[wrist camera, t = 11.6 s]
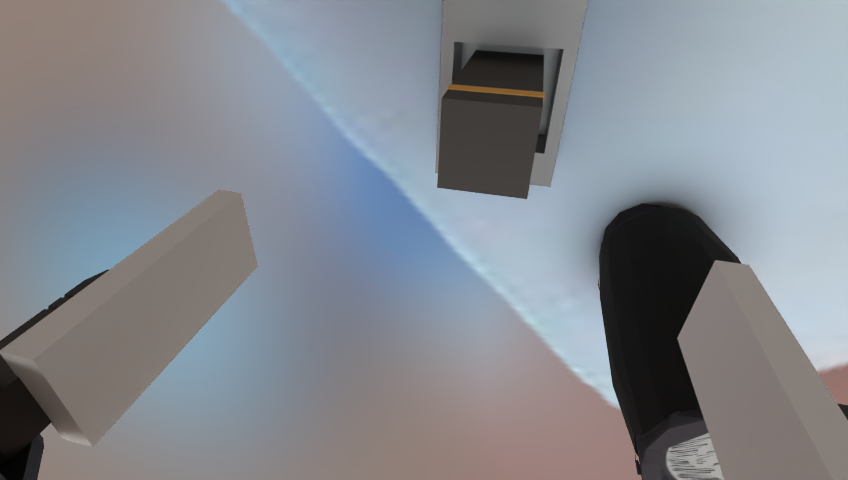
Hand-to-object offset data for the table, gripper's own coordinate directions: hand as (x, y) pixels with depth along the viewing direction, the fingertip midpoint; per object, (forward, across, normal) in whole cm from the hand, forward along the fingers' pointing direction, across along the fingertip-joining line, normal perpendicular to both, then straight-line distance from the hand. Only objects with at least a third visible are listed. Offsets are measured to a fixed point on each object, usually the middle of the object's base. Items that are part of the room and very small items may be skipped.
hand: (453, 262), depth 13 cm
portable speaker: (+23, +13, -12) cm, 29 cm away
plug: (+22, 0, 0) cm, 22 cm away
